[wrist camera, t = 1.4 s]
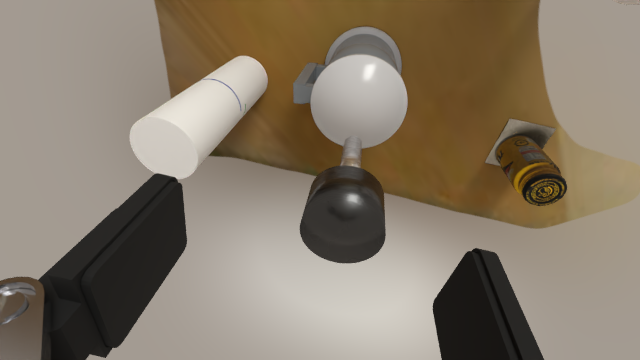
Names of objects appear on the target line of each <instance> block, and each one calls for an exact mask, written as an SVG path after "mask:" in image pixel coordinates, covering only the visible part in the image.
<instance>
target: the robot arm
mask: <svg viewBox="0 0 640 360" xmlns="http://www.w3.org/2000/svg"><path fill="white" fill-rule="evenodd" d="M186 244H187V236H186V225H185V213H184V203H183V191H182V185H181V183H178V181H177V179H176V178H175V177H172V176H168V175H164V174H159V173H156V174H154V175H153V176H152V177H151V178H150V179H149V180H148V181H147V182H146V183H144V184H143V185H142V186H141V187H140V188H139V189H138V190H137V191H136V192H135V193H134V194H133V195H132V196H130V197H129V198H128V199H127V200H126V201H125V202H124V203H123V204H122V205H121V206H120V207H119V208H117V209H115V210H114V211H113V212H111V213H110V214H109V215H108V216H107V217H106V218H105V219H104V220H103V221H102V222H101V223H99V224H98V225H97V226H96V227H95V228H94V229H93V230H92V231H91V232H90V233H89V234H87V235H86V236H85V237H84V238H83V239H82V240H81V241H80V242H79V243H78V244H77V245H76V246H75V247H73V248H72V249H71V250H70V251H69V252H68V253H67V254H66V255H65V256H64V257H63V258H61V259H60V260H59V261H58V262H57V263H56V264H55V265H54V266H53V267H52V268H51V269H50V270H48V271H47V272H46V273H45V274H44V275H43V276H42V277H41V278H40V279H39V280H37V279H33V278H31V277H14V278H8V279H4V280H1V281H0V360H86V358H87V357H88V356H89V354H92V355H96V356H100V357H105V358H106V357H107V355H108V354H109V352H110V351H111V349H112V348H117V347H118V346H119V345H120V344H121V343H122V342H123V341H124V339H125V338H126V336H127V335H128V333H129V332H130V330H131V329H132V327H133V326H134V324H135V323H136V321H137V320H138V318H139V317H140V315H141V314H142V312H143V311H144V309H145V308H146V306H147V305H148V303H149V302H150V301H151V299H152V298H153V296H154V295H155V293H156V292H157V290H158V289H159V287H160V286H161V284H162V283H163V281H164V280H165V278H166V277H167V275H168V274H169V272H170V271H171V269H172V268H173V266H174V265H175V263H176V262H177V260H178V259H179V257H180V256H181V254H182V253H183V251H184V250H185V247H186ZM433 314H434V319H435V325H436V330H437V336H438V341H439V347H440V352H441V358H442V360H544V358H543V356H542V354H541V352H540V350H539V347H538V345H537V343H536V340H535V338H534V336H533V334H532V332H531V329H530V327H529V325H528V323H527V320H526V318H525V316H524V314H523V311H522V309H521V307H520V305H519V302H518V300H517V298H516V296H515V293H514V291H513V289H512V287H511V284H510V282H509V280H508V278H507V275H506V273H505V271H504V269H503V266H502V264H501V262H500V260H499V257H498V256H497V254H496V253H494V252H490V251H486V250H482V249H477V248H475V249H473V250H472V251H468V252H467V253H466V254H465V255H464V257H463V258H462V260H461V261H460V263H459V264H458V266H457V267H456V269H455V270H454V272H453V273H452V275H451V276H450V278H449V279H448V280H447V282H446V283H445V285H444V286H443V288H442V289H441V291H440V292H439V294H438V295H437V297H436V298H435V300H434V303H433Z"/></svg>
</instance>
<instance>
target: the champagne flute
mask: <svg viewBox="0 0 640 360" xmlns="http://www.w3.org/2000/svg"><path fill="white" fill-rule="evenodd" d="M614 1H616V2H618V3H620V4H628V5H635V4H637V5H639V4H640V0H614Z"/></svg>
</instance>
